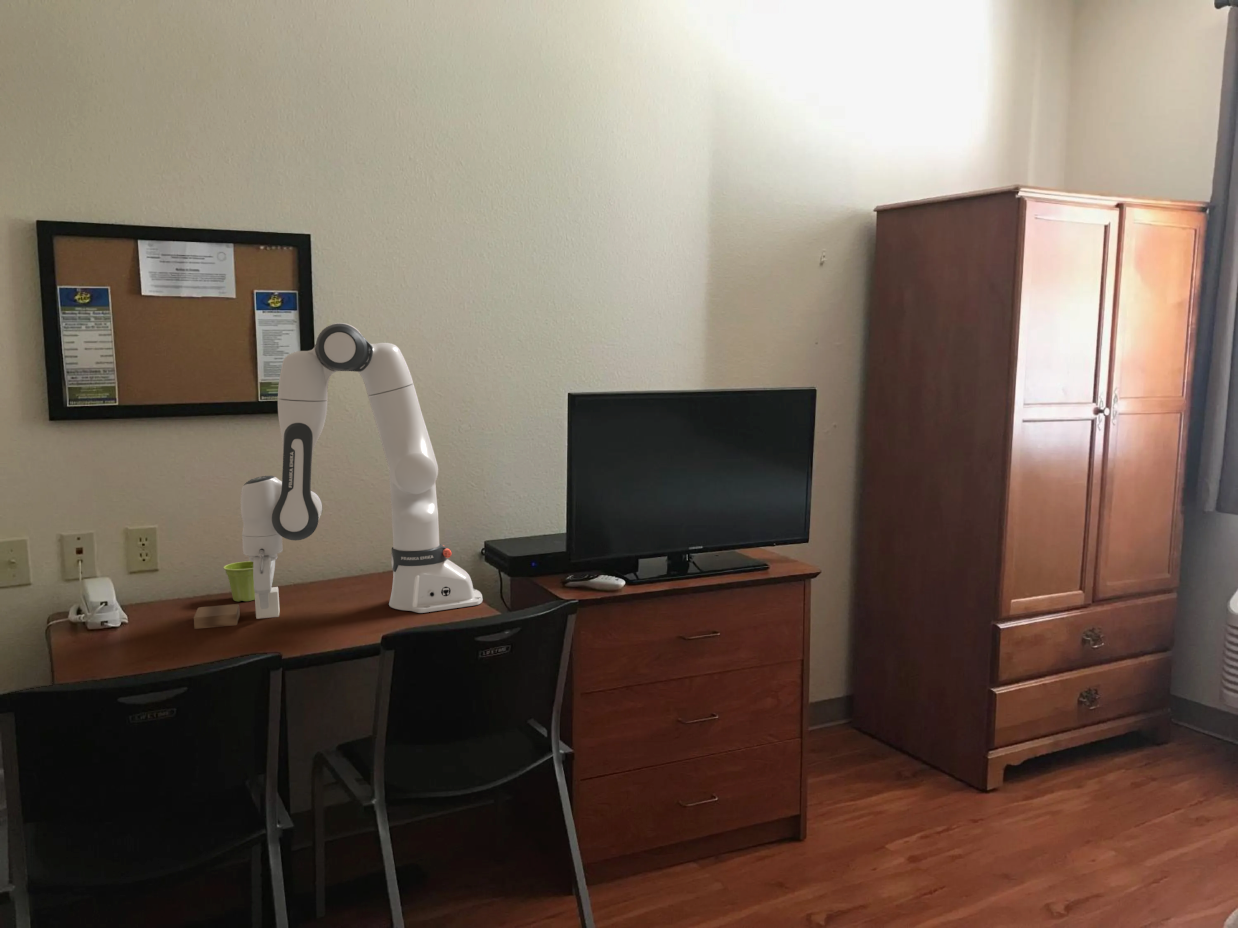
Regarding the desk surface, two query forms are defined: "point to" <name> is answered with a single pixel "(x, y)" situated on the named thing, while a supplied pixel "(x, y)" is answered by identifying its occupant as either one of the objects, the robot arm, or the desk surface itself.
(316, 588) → the desk surface
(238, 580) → the plant pot
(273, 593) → the white block
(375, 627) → the desk surface
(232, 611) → the walnut slab
